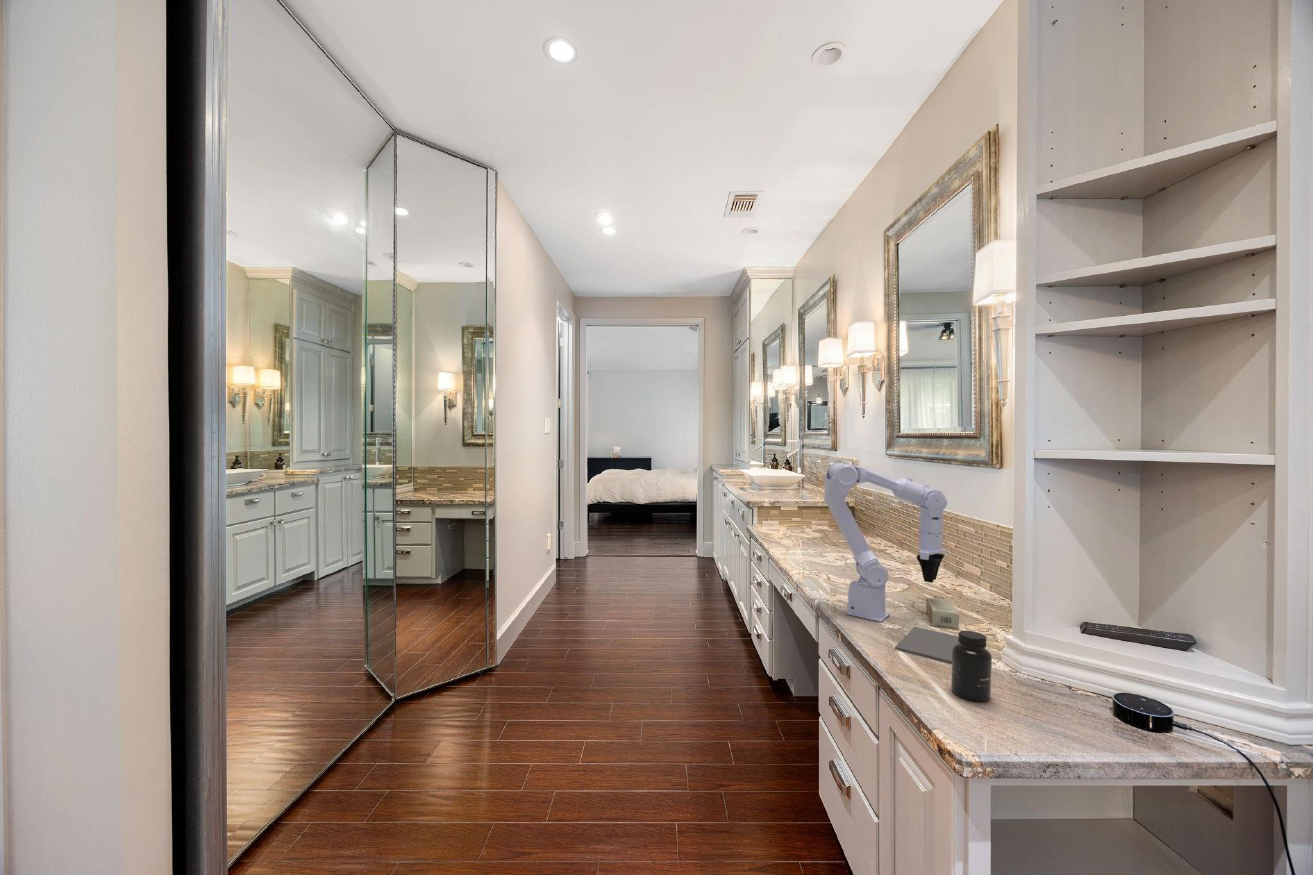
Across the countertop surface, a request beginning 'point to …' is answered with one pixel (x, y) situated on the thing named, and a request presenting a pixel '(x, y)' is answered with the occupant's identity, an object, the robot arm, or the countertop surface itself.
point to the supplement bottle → (971, 667)
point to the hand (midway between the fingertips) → (930, 580)
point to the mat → (929, 644)
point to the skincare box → (942, 613)
